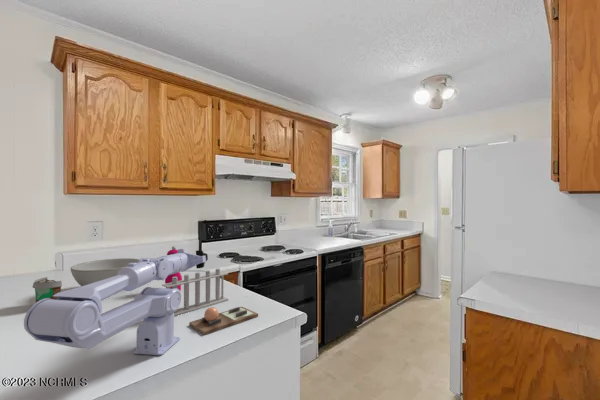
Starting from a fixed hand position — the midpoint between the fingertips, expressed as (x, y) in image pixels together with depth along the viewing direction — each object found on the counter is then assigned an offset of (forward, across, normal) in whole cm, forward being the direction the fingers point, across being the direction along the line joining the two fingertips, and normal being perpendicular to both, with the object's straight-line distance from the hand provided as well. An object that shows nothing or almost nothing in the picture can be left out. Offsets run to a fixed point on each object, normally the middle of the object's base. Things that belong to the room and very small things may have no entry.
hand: (196, 258), depth 99 cm
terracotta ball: (-4, -6, +18) cm, 20 cm away
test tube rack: (+10, +7, +20) cm, 23 cm away
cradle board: (0, -8, +22) cm, 23 cm away
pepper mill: (+29, +29, +15) cm, 44 cm away
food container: (+2, +64, +12) cm, 65 cm away
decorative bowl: (+24, +57, +12) cm, 63 cm away
